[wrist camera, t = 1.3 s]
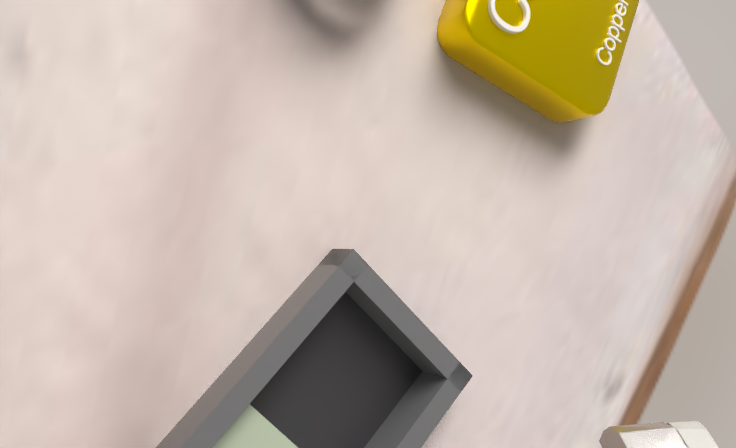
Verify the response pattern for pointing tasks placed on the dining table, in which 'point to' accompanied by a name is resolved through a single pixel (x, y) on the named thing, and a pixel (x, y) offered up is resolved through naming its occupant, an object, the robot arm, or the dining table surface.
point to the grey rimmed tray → (330, 372)
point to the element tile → (542, 49)
